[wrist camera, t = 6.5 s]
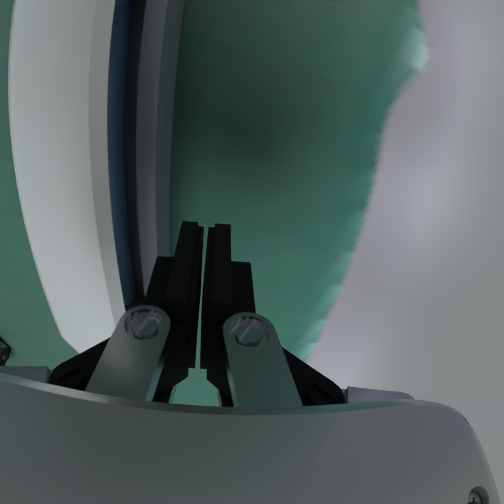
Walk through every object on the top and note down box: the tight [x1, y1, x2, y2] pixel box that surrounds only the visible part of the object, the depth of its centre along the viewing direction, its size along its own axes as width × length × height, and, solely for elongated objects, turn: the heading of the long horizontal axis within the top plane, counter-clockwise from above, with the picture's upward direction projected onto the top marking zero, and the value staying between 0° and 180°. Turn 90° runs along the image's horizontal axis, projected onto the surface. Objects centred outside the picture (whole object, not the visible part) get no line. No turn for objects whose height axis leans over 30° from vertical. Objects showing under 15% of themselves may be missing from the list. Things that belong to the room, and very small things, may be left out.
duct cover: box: [8, 0, 125, 353], centre depth 13 cm, size 24×9×1 cm
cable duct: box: [107, 0, 185, 312], centre depth 17 cm, size 24×7×5 cm, turn 173°
